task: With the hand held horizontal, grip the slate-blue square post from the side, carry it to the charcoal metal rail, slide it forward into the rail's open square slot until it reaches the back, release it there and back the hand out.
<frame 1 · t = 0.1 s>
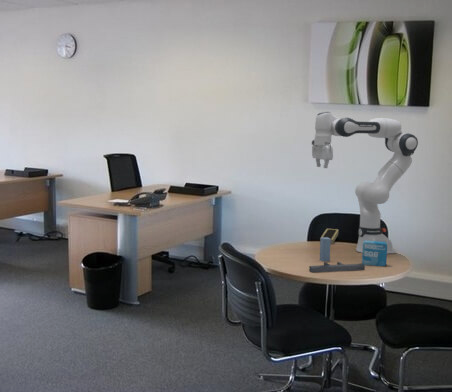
hand: (321, 167, 291), 48 cm above the table, tool pointing down, fingers open, 8 cm apart
blue printed carton: (373, 265, 275), on the table
square post: (324, 260, 281), on the table
box: (328, 241, 329), on the table
rail bracket: (335, 269, 263), on the table
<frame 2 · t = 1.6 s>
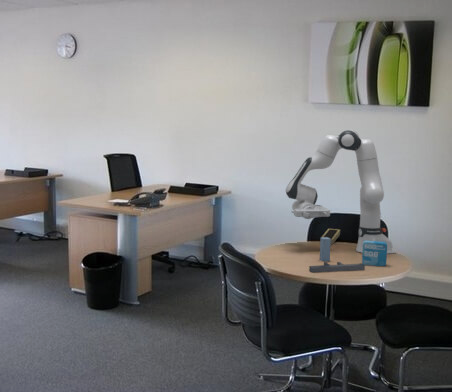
hand: (317, 215, 290), 22 cm above the table, tool horizontal, fingers open, 8 cm apart
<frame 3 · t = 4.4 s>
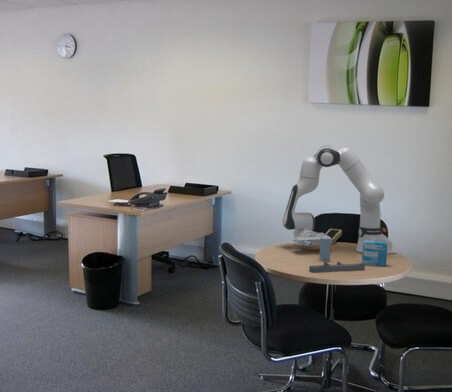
hand: (318, 243, 289), 7 cm above the table, tool horizontal, fingers open, 8 cm apart
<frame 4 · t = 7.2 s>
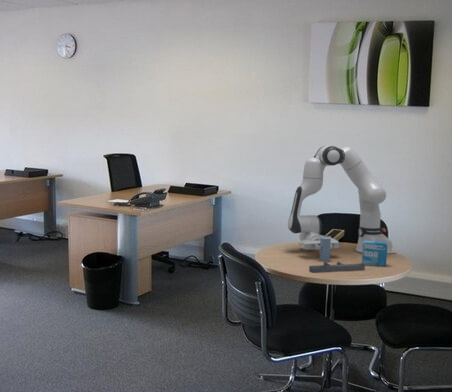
hand: (325, 247, 279), 7 cm above the table, tool horizontal, fingers closed on square post, 4 cm apart
square post: (324, 260, 281), on the table, touching gripper
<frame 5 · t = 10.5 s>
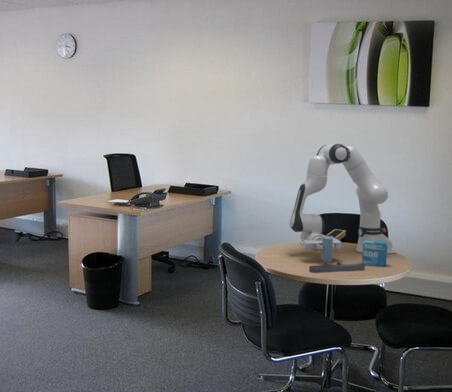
hand: (327, 247, 271), 9 cm above the table, tool horizontal, fingers closed on square post, 4 cm apart
square post: (326, 260, 273), point 2 cm above the table, touching gripper
when the fingers open (8 cm above the table, at t = 13.8 s): square post moves 1 cm, on the table.
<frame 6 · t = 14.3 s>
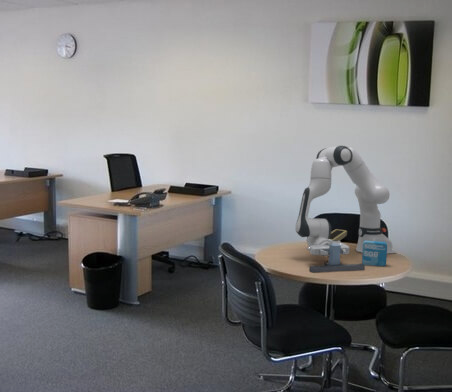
hand: (335, 253, 263), 8 cm above the table, tool horizontal, fingers open, 8 cm apart
square post: (333, 268, 266), on the table
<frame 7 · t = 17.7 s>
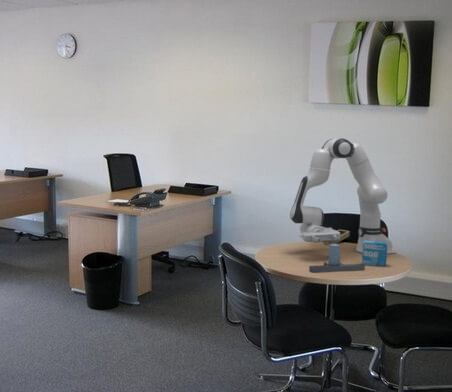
hand: (327, 239, 274), 12 cm above the table, tool horizontal, fingers open, 8 cm apart
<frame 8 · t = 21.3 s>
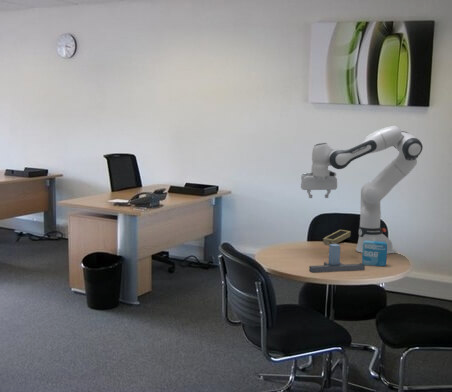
hand: (318, 197, 293), 31 cm above the table, tool pointing down, fingers open, 8 cm apart
at the end: square post 0.9 cm from the target spot on the rail bracket, point 0.0 cm above the rail bracket's base; square post tilted 0°; the gripper is holding nothing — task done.
